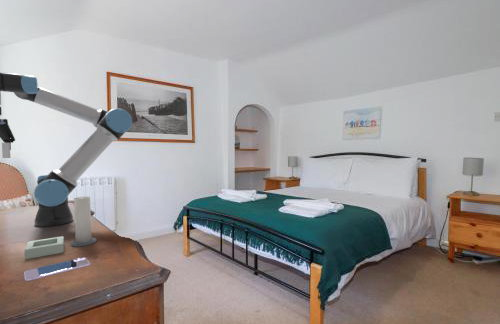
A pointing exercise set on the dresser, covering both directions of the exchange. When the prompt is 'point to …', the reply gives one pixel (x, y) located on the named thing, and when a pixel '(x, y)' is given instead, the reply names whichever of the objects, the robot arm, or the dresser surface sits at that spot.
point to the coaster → (83, 243)
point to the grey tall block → (82, 219)
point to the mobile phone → (55, 268)
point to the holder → (44, 247)
